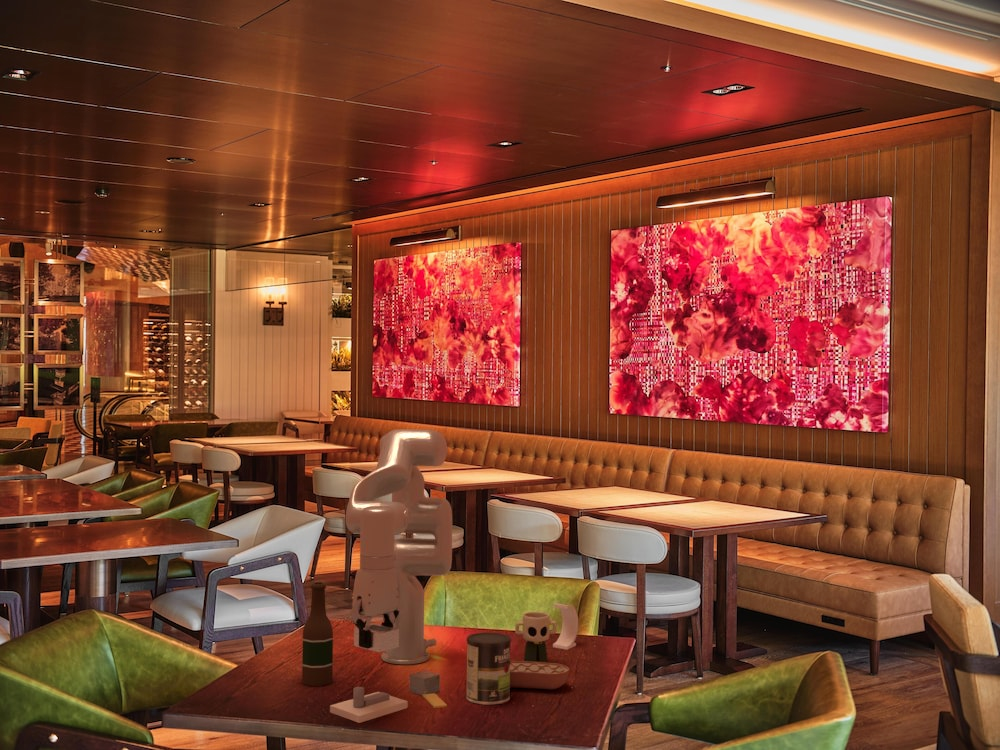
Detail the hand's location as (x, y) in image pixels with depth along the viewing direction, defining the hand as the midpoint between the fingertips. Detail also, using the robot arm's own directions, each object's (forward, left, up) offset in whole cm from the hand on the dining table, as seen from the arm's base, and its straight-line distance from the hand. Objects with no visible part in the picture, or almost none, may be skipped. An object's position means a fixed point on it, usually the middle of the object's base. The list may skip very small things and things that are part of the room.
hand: (376, 643), depth 227 cm
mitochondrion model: (-38, +10, -16) cm, 42 cm away
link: (0, 0, -1) cm, 1 cm away
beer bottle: (-6, -28, -16) cm, 32 cm away
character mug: (-55, 0, -16) cm, 57 cm away
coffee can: (-26, +10, -16) cm, 32 cm away
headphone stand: (-75, -6, -16) cm, 76 cm away
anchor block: (-19, -4, -15) cm, 24 cm away
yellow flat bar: (-15, +3, -15) cm, 22 cm away
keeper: (-1, -3, -15) cm, 16 cm away
